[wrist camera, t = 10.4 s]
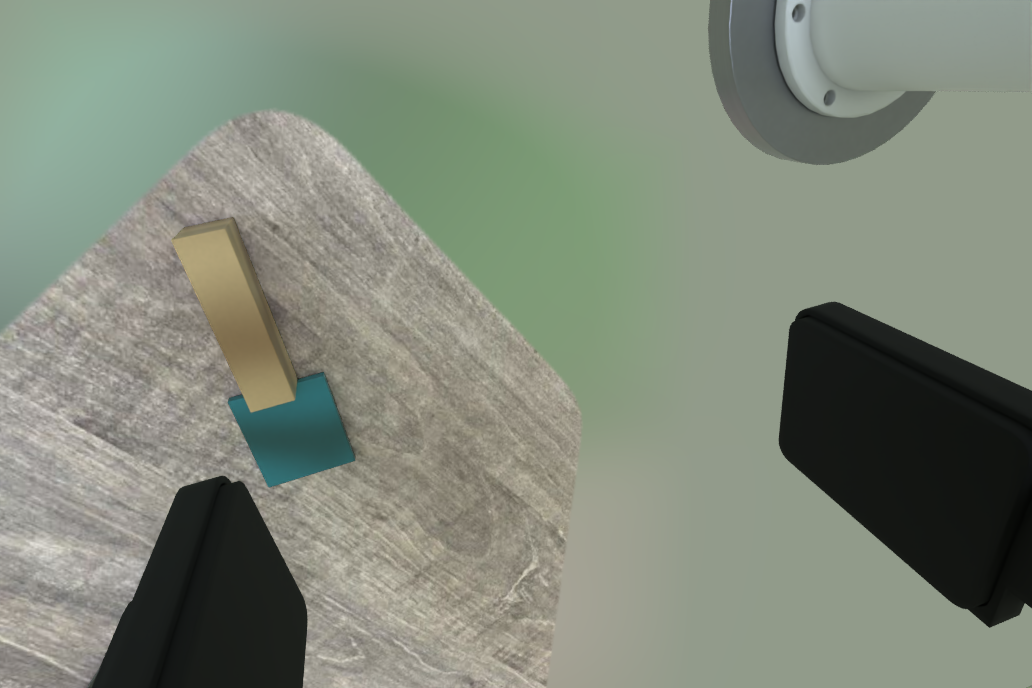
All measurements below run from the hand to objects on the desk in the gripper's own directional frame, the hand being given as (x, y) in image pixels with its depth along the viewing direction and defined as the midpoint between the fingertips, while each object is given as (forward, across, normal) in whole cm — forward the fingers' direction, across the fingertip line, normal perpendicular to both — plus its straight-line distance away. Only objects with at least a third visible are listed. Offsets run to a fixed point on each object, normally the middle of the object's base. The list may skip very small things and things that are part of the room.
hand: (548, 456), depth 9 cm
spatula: (+21, +9, +6) cm, 24 cm away
